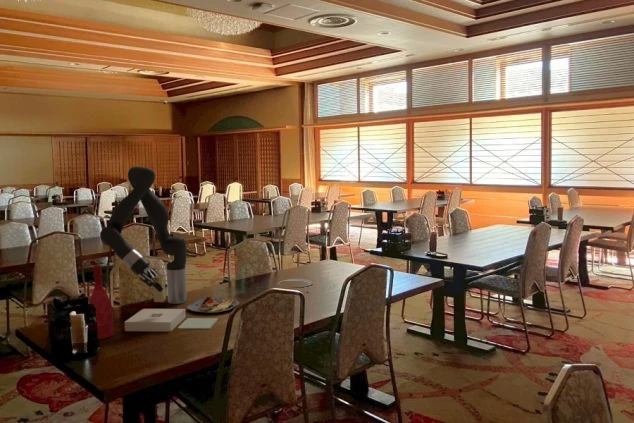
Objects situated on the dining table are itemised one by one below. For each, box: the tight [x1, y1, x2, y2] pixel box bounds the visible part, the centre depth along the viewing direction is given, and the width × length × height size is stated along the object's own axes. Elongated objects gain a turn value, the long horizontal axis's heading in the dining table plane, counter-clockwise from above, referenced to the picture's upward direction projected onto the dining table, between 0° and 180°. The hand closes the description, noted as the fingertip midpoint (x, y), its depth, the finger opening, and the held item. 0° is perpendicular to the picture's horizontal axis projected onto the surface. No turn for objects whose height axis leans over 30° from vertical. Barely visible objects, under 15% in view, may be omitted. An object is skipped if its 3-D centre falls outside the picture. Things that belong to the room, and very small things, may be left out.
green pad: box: [177, 317, 219, 330], centre depth 239 cm, size 14×14×1 cm
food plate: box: [186, 296, 240, 314], centre depth 265 cm, size 25×23×4 cm
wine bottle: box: [89, 264, 115, 340], centre depth 224 cm, size 10×10×30 cm
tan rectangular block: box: [152, 274, 167, 303], centre depth 239 cm, size 5×4×11 cm
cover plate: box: [124, 308, 187, 332], centre depth 240 cm, size 20×20×4 cm
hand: (163, 288), depth 239 cm, fingers closed on tan rectangular block, 4 cm apart
